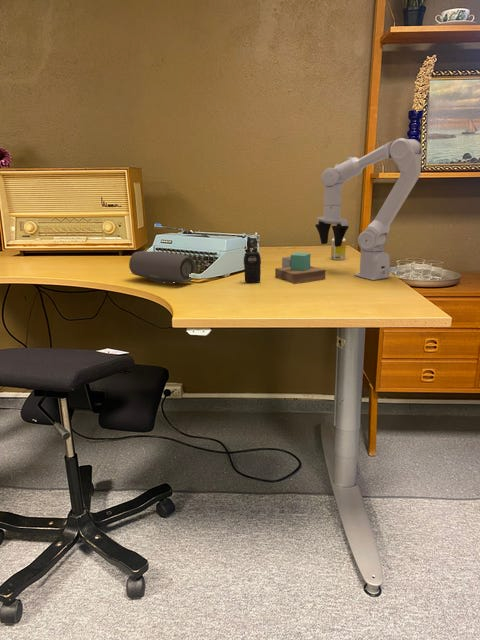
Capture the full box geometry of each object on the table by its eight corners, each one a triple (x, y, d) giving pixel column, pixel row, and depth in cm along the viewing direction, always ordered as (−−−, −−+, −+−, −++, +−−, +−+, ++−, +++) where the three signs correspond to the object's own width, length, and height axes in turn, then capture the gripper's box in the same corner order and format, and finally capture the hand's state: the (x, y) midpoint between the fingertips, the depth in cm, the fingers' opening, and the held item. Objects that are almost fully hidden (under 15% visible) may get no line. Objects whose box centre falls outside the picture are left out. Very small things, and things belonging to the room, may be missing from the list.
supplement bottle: (347, 259, 190) (349, 233, 187) (339, 260, 187) (340, 234, 184) (337, 257, 195) (338, 232, 191) (328, 259, 191) (329, 233, 188)
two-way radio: (244, 283, 153) (243, 237, 148) (244, 280, 157) (243, 235, 153) (261, 283, 153) (260, 236, 148) (260, 280, 157) (260, 234, 153)
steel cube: (301, 272, 169) (301, 258, 167) (289, 273, 166) (289, 259, 165) (293, 269, 173) (293, 256, 171) (282, 271, 171) (282, 257, 169)
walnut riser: (325, 279, 156) (325, 270, 155) (295, 283, 151) (295, 274, 150) (304, 273, 166) (304, 264, 165) (275, 277, 161) (275, 268, 160)
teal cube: (310, 268, 159) (310, 253, 157) (304, 271, 155) (304, 255, 153) (296, 267, 161) (296, 252, 160) (290, 269, 157) (290, 255, 156)
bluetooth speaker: (198, 282, 156) (196, 252, 153) (179, 288, 149) (177, 257, 146) (148, 276, 168) (146, 248, 166) (129, 281, 161) (126, 252, 158)
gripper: (355, 205, 156) (353, 246, 160) (328, 203, 169) (327, 241, 173) (338, 206, 153) (337, 248, 157) (312, 204, 166) (311, 243, 170)
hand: (330, 245), depth 165 cm, fingers open, 7 cm apart
